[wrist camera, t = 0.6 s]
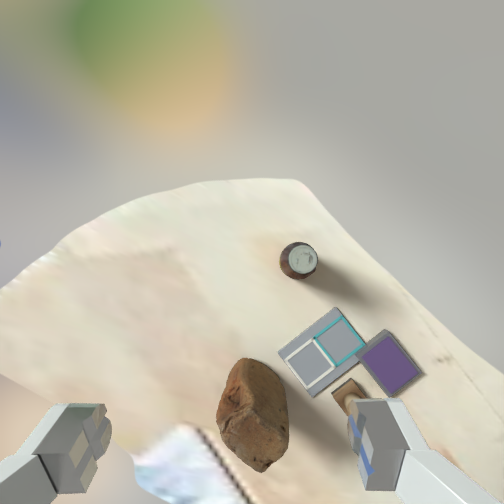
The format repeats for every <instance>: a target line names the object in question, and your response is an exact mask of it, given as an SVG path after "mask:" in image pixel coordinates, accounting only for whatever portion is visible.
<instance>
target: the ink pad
mask: <svg viewBox="0 0 504 504" xmlns="http://www.w3.org/2000/svg"><path fill="white" fill-rule="evenodd" d="M355 356H356V357H357V358H358V359H359V361H360V362H361V364H362V365H363V366H364V367H365V369H366V370H367V371H368V372H369V374H370V375H371V376H372V377H373V379H374V380H375V381H376V382H377V384H378V385H379V386H380V387H381V389H382V390H383V391H384V393H385V394H386V395H387V396H388V397H389V398H390V397H391V396H393V395H394V394H395V393H396V392H398V391H399V390H400V389H402V388H403V387H404V386H405V385H407V384H408V383H409V382H411V381H412V380H413V379H415V378H416V377H417V376H418V375H420V374H421V373H422V372H421V371H420V369H419V368H418V367H417V366H416V364H415V363H414V362H413V361H412V360H411V358H410V357H409V356H408V355H407V353H406V352H405V351H404V350H403V348H402V347H401V346H400V345H399V343H398V342H397V341H396V340H395V339H394V337H393V336H392V335H391V334H390V332H389V331H387V330H386V329H384V330H383V331H381V332H380V333H379V334H378V335H376V336H375V337H374V338H372V339H371V340H370V341H369V342H367V343H366V346H365V347H364V348H362V349H361V350H360V351H359V352H357V353H356V354H355Z"/></svg>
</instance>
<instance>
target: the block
mask: <svg viewBox="0 0 504 504" xmlns="http://www.w3.org/2000/svg"><path fill="white" fill-rule="evenodd" d="M216 418H217V421H216V422H217V425H218V427H219V429H220V434H221V437H222V440H223V442H224V443H225V445H226V446H227V447H228V448H229V449H230V450H231V451H232V452H234V453H235V454H236V455H237V457H238V458H240V459H241V460H242V461H243V462H244V463H245V464H247V465H249V466H250V467H252V468H253V469H254V470H255V471H258V472H260V473H262V472H264V471H266V469H267V468H268V467H269V466H270V465H271V464H272V463H274V462H276V461H277V460H278V459H280V458H281V457H282V456H283V454H284V453H285V452H286V450H287V449H288V443H289V420H288V410H287V401H286V396H285V390H284V387H283V386H282V384H281V383H280V380H279V378H278V376H277V375H276V374H275V373H274V372H273V371H272V370H270V369H269V368H268V367H267V366H265V365H264V364H262V363H259V362H258V361H256V360H254V359H248V358H242V359H240V360H239V361H238V362H237V363H236V364H235V365H234V367H233V368H232V370H231V372H230V374H229V376H228V380H227V382H226V388H225V389H224V392H223V394H222V397H221V400H220V403H219V407H218V410H217V414H216Z"/></svg>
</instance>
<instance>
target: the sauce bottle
mask: <svg viewBox="0 0 504 504" xmlns="http://www.w3.org/2000/svg"><path fill="white" fill-rule="evenodd" d="M317 262H318V257H317V254H316V252H315V251H314V249H313V248H312V247H311V246H310V245H308V244H306V243H303V242H295V243H292V244H290V245H288V246H287V247H286V248H285V249H284V250H283V251H282V253H281V256H280V259H279V265H280V268H281V270H282V271H283V273H284V274H285V275H287V276H289V277H290V278H293V279H304V278H307V277H308V276H310V275H311V274H312V273H313V272H315V270H316V265H317Z"/></svg>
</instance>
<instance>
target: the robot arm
mask: <svg viewBox="0 0 504 504" xmlns="http://www.w3.org/2000/svg"><path fill="white" fill-rule="evenodd" d="M350 410H351V413H352V414H351V415H350V416H349V417H348V435H349V439H350V443H351V446H352V450H353V451H354V452H355V453H356V454H357V455H358V456H359V459H358V465H357V466H358V469H359V472H360V475H361V478H362V481H363V484H364V487H365V490H368V491H395V494H396V495H397V496H398V497H399V498H400V500H401V501H402V502H403V503H404V504H502V503H501V502H500V501H498V500H497V499H496V498H495V497H493V496H492V495H491V494H490V493H488V492H487V491H486V490H485V489H483V488H482V487H481V486H480V485H478V484H477V483H476V482H475V481H473V480H472V479H471V478H470V477H469V476H467V475H466V474H465V473H464V472H462V471H461V470H460V469H459V468H457V467H456V466H455V465H454V464H452V463H451V462H450V461H449V460H447V459H446V458H445V457H444V456H442V455H441V454H440V453H439V452H437V451H436V450H430V448H429V446H428V445H427V443H426V441H425V439H424V438H423V436H422V434H421V433H420V431H419V429H418V427H417V426H416V424H415V422H414V420H413V419H412V417H411V415H410V413H409V412H408V410H407V408H406V406H405V405H404V403H403V401H402V400H401V399H400V398H384V399H382V398H370V399H352V400H351V402H350ZM106 412H107V410H106V407H105V404H87V403H57V404H55V405H54V406H52V407H51V408H50V410H49V411H48V412H47V413H46V415H45V416H44V417H43V419H42V420H41V421H40V423H39V424H38V425H37V426H36V428H35V429H34V430H33V432H32V433H31V434H30V436H29V437H28V438H27V440H26V441H25V442H24V443H23V445H22V446H21V447H20V449H19V450H18V451H17V452H16V454H15V455H9V456H8V457H6V458H5V459H4V460H3V461H1V462H0V504H50V503H51V502H52V501H53V500H54V499H55V498H56V497H57V494H72V493H86V492H87V489H88V487H89V485H90V483H91V481H92V479H93V477H94V475H95V473H96V471H97V468H98V467H97V460H98V459H99V458H100V457H101V456H102V455H103V454H104V453H105V452H106V450H107V448H108V445H109V443H110V439H111V434H112V425H111V422H110V420H109V419H108V418H106V417H105V414H106Z"/></svg>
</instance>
